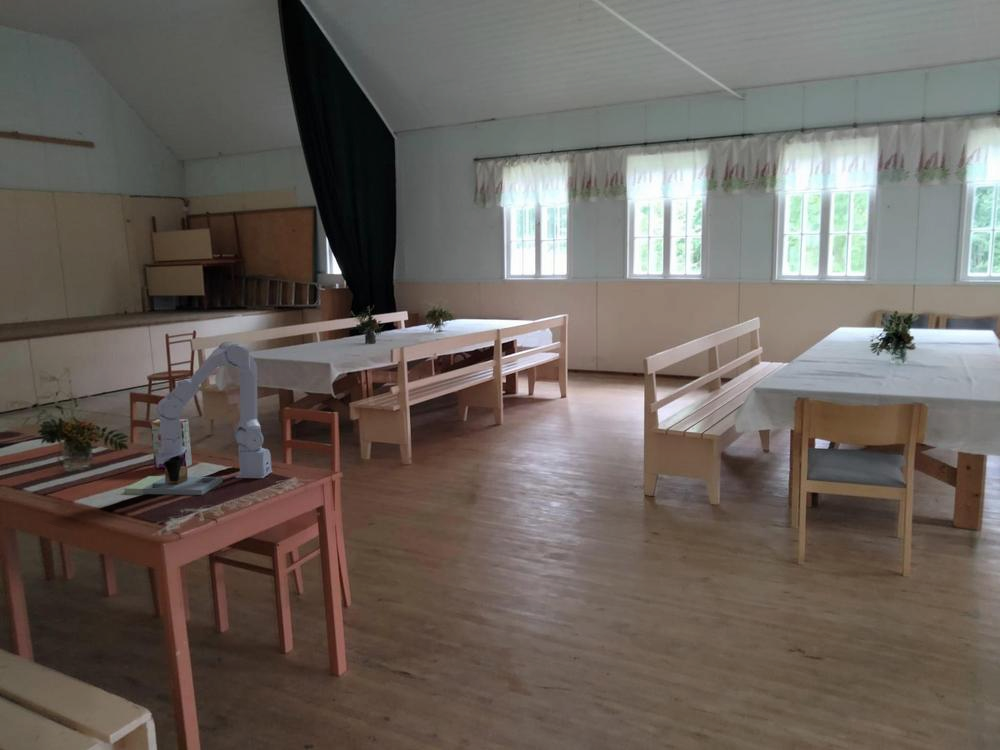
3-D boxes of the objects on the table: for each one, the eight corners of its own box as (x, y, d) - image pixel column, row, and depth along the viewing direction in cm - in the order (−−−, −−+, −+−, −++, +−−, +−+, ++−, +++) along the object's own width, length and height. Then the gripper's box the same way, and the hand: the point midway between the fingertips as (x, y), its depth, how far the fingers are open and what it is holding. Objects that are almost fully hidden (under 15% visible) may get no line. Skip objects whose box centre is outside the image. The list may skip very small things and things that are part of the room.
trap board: (222, 482, 236) (222, 477, 236) (202, 494, 224) (201, 489, 223) (149, 480, 239) (148, 476, 239) (124, 493, 227) (124, 488, 226)
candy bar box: (154, 469, 253) (149, 422, 250) (161, 465, 258) (156, 419, 255) (186, 469, 253) (182, 421, 250) (193, 464, 258) (188, 418, 255)
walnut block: (187, 480, 233) (187, 466, 233) (177, 483, 229) (177, 469, 228) (175, 479, 234) (175, 465, 234) (165, 482, 230) (165, 468, 230)
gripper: (172, 432, 234) (175, 474, 236) (145, 442, 220) (148, 487, 222) (193, 432, 233) (196, 474, 235) (167, 443, 219) (170, 487, 221)
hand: (174, 480), depth 228 cm, fingers closed, pressing on walnut block
